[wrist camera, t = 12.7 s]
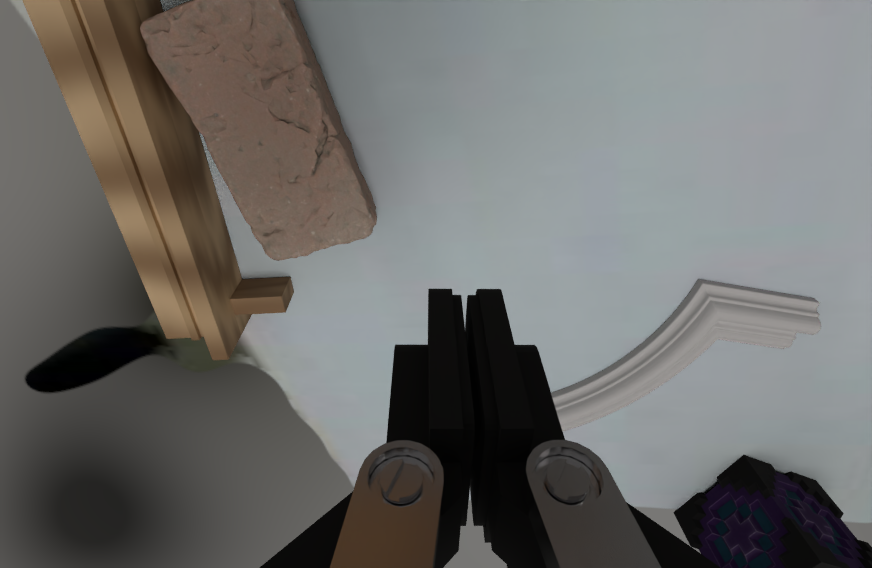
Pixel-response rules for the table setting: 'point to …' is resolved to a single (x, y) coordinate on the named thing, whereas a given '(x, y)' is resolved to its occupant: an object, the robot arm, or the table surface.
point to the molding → (689, 345)
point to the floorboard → (152, 170)
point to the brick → (265, 120)
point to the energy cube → (770, 522)
